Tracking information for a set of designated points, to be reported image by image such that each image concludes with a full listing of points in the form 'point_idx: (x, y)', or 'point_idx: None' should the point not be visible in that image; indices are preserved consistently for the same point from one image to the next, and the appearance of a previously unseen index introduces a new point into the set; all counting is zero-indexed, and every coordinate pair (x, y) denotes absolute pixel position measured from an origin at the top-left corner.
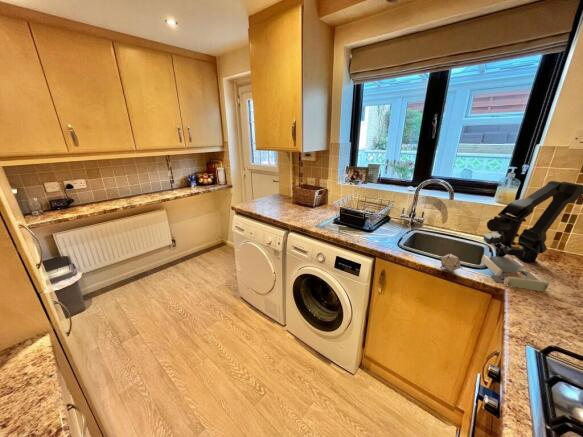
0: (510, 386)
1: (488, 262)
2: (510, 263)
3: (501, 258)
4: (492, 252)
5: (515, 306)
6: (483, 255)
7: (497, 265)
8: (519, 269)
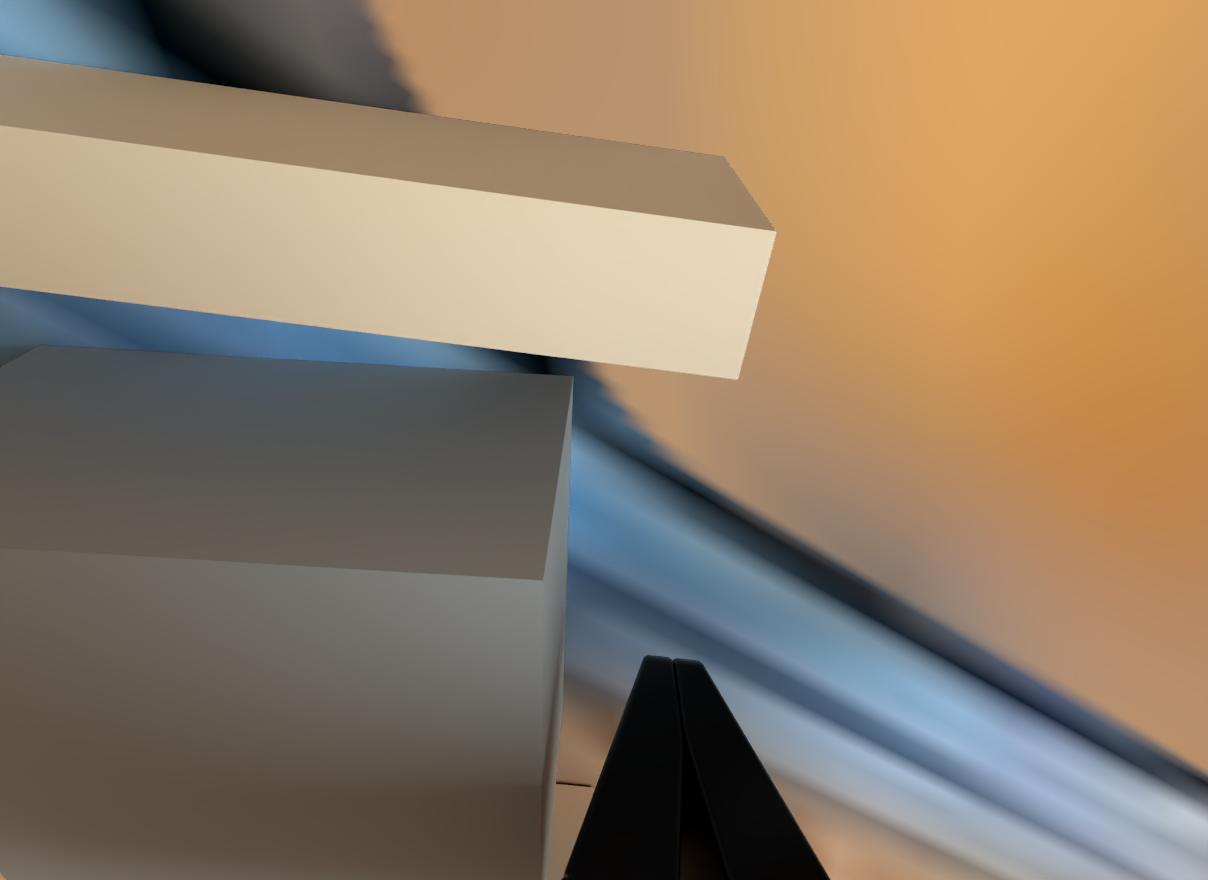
0: None
1: (117, 114)
2: (78, 816)
3: (403, 777)
4: (1145, 777)
5: None
6: (754, 230)
7: (122, 422)
8: None
